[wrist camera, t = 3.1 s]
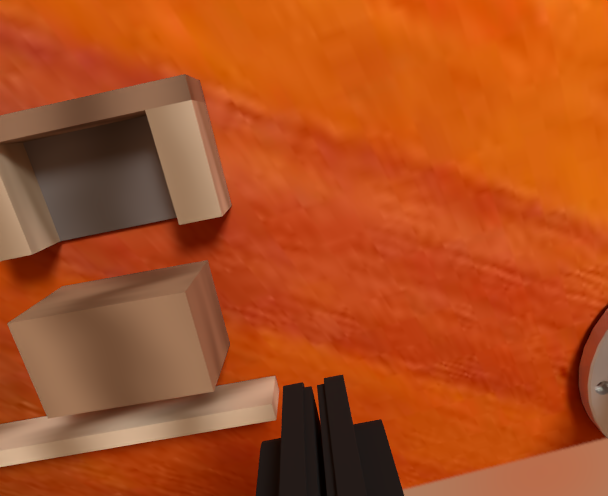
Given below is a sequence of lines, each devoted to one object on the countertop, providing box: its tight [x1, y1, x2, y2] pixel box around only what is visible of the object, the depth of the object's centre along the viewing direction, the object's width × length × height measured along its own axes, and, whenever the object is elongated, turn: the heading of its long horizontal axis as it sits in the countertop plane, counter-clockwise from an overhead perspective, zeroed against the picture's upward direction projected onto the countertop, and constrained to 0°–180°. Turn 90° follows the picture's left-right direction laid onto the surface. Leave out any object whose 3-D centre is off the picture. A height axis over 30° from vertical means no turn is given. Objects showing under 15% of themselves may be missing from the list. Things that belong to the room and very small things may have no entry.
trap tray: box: [0, 74, 279, 467], centre depth 21 cm, size 23×17×2 cm
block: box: [7, 260, 230, 419], centre depth 21 cm, size 8×5×4 cm, turn 101°
